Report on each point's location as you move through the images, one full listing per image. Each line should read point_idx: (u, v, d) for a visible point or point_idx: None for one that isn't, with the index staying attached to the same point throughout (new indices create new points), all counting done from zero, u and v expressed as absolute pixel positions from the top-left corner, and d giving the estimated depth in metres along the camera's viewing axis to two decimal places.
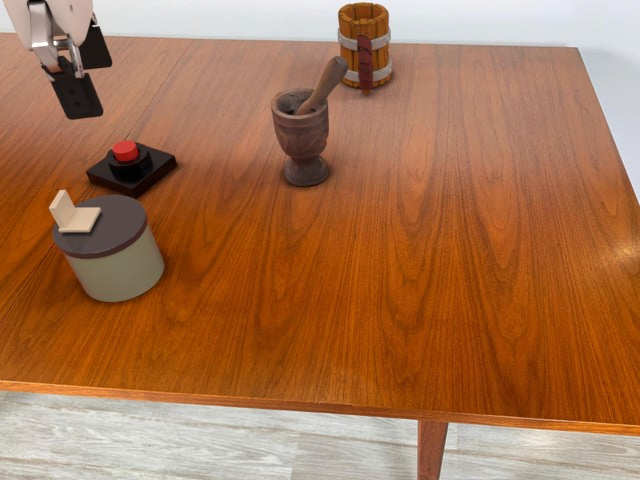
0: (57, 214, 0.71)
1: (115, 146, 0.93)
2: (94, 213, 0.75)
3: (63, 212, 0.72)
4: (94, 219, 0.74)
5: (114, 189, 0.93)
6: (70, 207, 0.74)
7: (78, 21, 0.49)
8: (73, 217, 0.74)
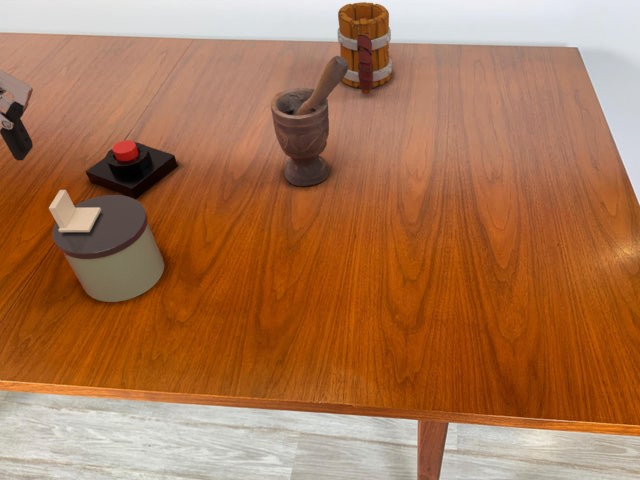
0: (57, 214, 0.71)
1: (115, 146, 0.93)
2: (94, 213, 0.75)
3: (63, 212, 0.72)
4: (94, 219, 0.74)
5: (114, 189, 0.93)
6: (70, 207, 0.74)
7: None
8: (73, 217, 0.74)
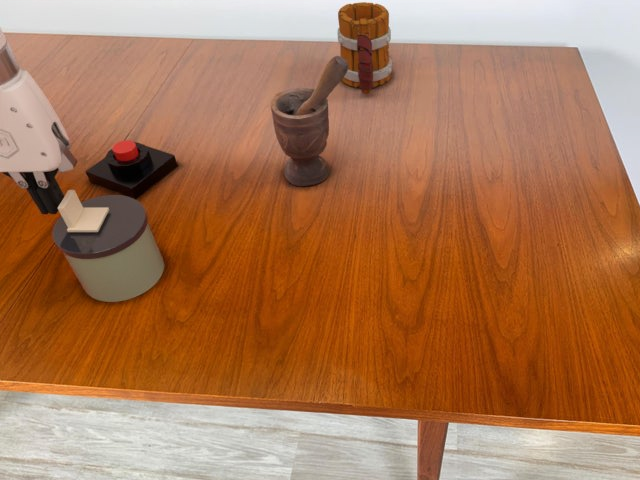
0: (66, 214, 0.71)
1: (115, 146, 0.93)
2: (102, 213, 0.75)
3: (71, 212, 0.72)
4: (102, 219, 0.74)
5: (114, 189, 0.93)
6: (79, 207, 0.74)
7: None
8: (81, 217, 0.74)
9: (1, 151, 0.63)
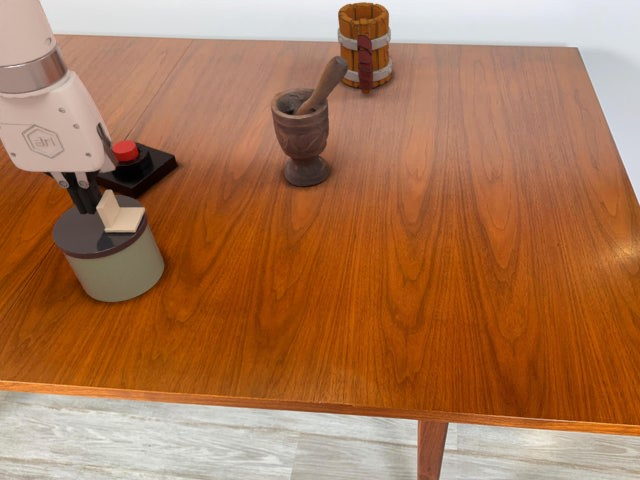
0: (104, 214, 0.71)
1: (115, 146, 0.93)
2: (139, 213, 0.74)
3: (109, 212, 0.72)
4: (139, 219, 0.74)
5: (114, 189, 0.93)
6: (116, 207, 0.74)
7: None
8: (118, 217, 0.74)
9: (46, 151, 0.63)
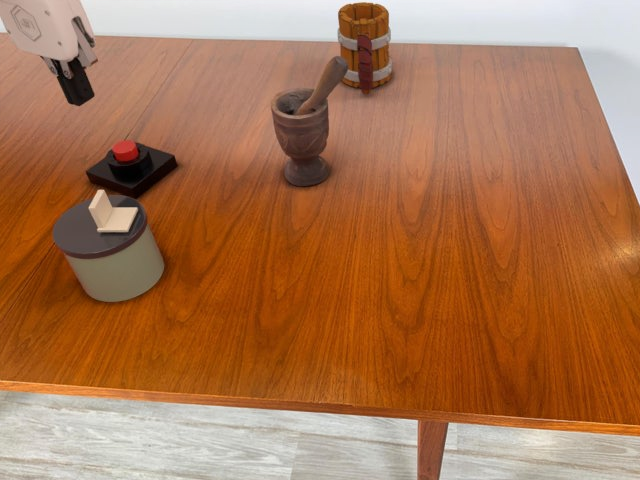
0: (96, 214, 0.71)
1: (115, 146, 0.93)
2: (131, 213, 0.74)
3: (101, 212, 0.72)
4: (132, 219, 0.74)
5: (114, 189, 0.93)
6: (108, 207, 0.74)
7: None
8: (111, 217, 0.74)
9: (30, 33, 0.69)
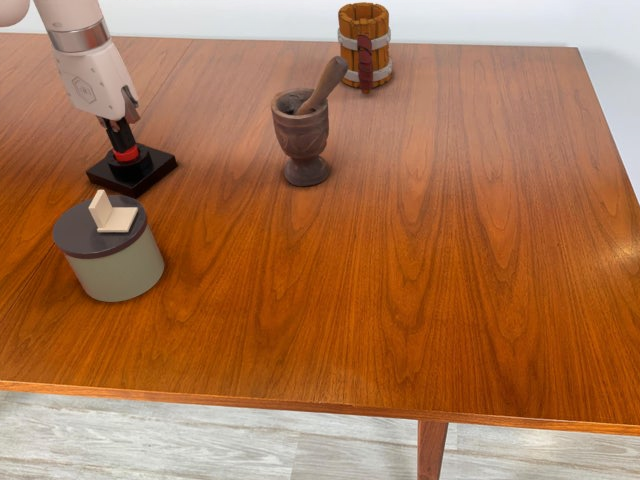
0: (96, 214, 0.71)
1: None
2: (131, 213, 0.74)
3: (101, 212, 0.72)
4: (132, 219, 0.74)
5: (114, 189, 0.93)
6: (108, 207, 0.74)
7: None
8: (111, 217, 0.74)
9: (86, 97, 0.84)
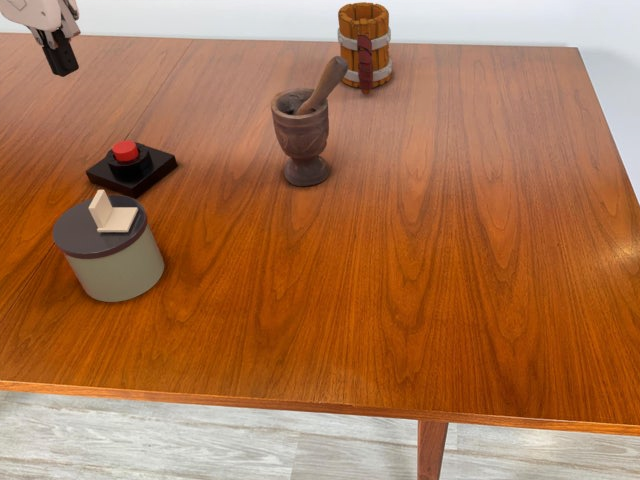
0: (96, 214, 0.71)
1: (115, 146, 0.93)
2: (131, 213, 0.74)
3: (101, 212, 0.72)
4: (132, 219, 0.74)
5: (114, 189, 0.93)
6: (108, 207, 0.74)
7: None
8: (111, 217, 0.74)
9: (16, 3, 0.72)
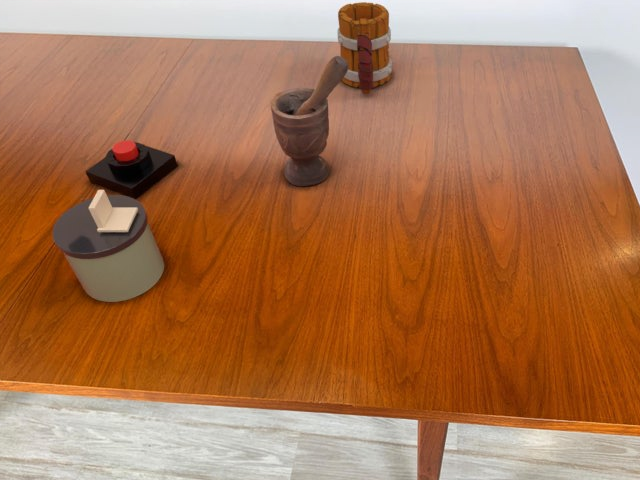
0: (96, 214, 0.71)
1: (115, 146, 0.93)
2: (131, 213, 0.74)
3: (101, 212, 0.72)
4: (132, 219, 0.74)
5: (114, 189, 0.93)
6: (108, 207, 0.74)
7: None
8: (111, 217, 0.74)
9: None
